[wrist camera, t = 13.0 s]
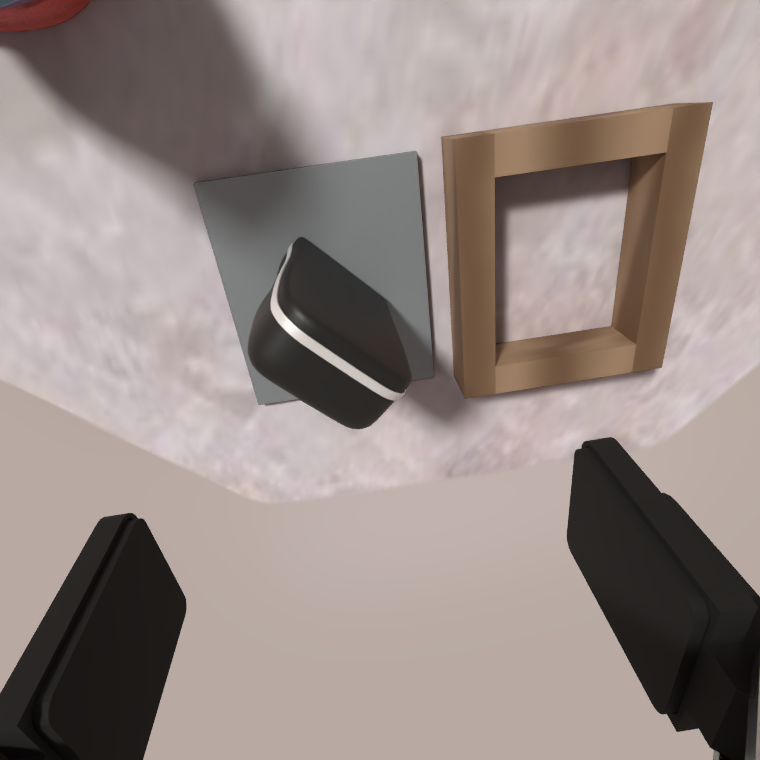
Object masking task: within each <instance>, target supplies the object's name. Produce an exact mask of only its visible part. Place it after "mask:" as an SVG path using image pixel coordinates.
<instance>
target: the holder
mask: <svg viewBox="0 0 760 760" xmlns="http://www.w3.org/2000/svg"><path fill="white" fill-rule="evenodd" d="M712 104H713V102H707V103H676V104H668V105H661V106H654V107H647V108H640V109H633V110H626V111H619V112H612V113H605V114H598V115H591V116H584V117H577V118H570V119H563V120H556V121H549V122H542V123H535V124H528V125H521V126H514V127H507V128H500V129H493V130H487V131H480V132H473V133H466V134H459V135H452V136H445V137H442V156H443V175H444V194H445V213H446V232H447V251H448V270H449V289H450V308H451V327H452V346H453V365H454V377H455V379H456V381H457V383H458V385H459V387H460V390H461V392H462V394H463V396H464V398H465V399H466V398H472V397H479V396H485V395H491V394H498V393H504V392H510V391H517V390H523V389H529V388H536V387H542V386H548V385H555V384H561V383H567V382H573V381H580V380H586V379H592V378H599V377H605V376H611V375H618V374H624V373H630V372H637V371H643V370H649V369H656V368H662V364H663V359H664V354H665V348H666V343H667V338H668V333H669V328H670V322H671V317H672V312H673V307H674V302H675V296H676V291H677V286H678V281H679V276H680V270H681V265H682V260H683V255H684V250H685V245H686V239H687V234H688V229H689V224H690V219H691V213H692V208H693V203H694V198H695V193H696V187H697V182H698V177H699V172H700V167H701V161H702V156H703V151H704V146H705V141H706V135H707V130H708V125H709V120H710V115H711V109H712ZM631 157H633V160H632V167H631V175H630V183H629V191H628V199H627V207H626V215H625V223H624V230H623V238H622V246H621V254H620V262H619V270H618V278H617V286H616V293H615V301H614V309H613V317H612V325H611V326H609V327H603V328H596V329H590V330H583V331H577V332H571V333H564V334H558V335H551V336H545V337H538V338H532V339H526V340H519V341H513V342H506V343H500V344H495V177H501V176H508V175H515V174H522V173H529V172H536V171H542V170H549V169H556V168H563V167H570V166H577V165H583V164H590V163H597V162H604V161H611V160H618V159H625V158H631Z"/></svg>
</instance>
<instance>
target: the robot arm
mask: <svg viewBox="0 0 760 760" xmlns="http://www.w3.org/2000/svg"><path fill="white" fill-rule="evenodd" d="M567 541H568V546H569V549H570V551H571V553H572V555H573V557H574V559H575V561H576V563H577V565H578V566H579V568H580V570H581V572H582V574H583V576H584V578H585V579H586V581H587V583H588V585H589V587H590V589H591V591H592V593H593V594H594V596H595V598H596V600H597V602H598V604H599V606H600V607H601V609H602V611H603V613H604V615H605V617H606V619H607V620H608V622H609V624H610V626H611V628H612V630H613V632H614V633H615V635H616V637H617V639H618V641H619V643H620V645H621V647H622V648H623V650H624V652H625V654H626V656H627V658H628V660H629V662H630V663H631V665H632V667H633V669H634V671H635V673H636V674H637V677H638V678H639V680H640V682H641V684H642V686H643V688H644V690H645V691H646V693H647V695H648V697H649V699H650V701H651V703H652V704H653V706H654V708H655V709H656V710H657V711H658V712H659V713H660V714H667V715H668V717H669V718H670V720H671V722H672V724H673V726H674V727H675V729H676V731H677V732H679V731H685V730H692V729H698V728H699V729H700V731H701V733H702V735H703V736H704V738H705V740H706V741H707V743H708V745H709V746H710V748H712V749H713V750H714V754H713V760H760V597H759V595H757V593H756V592H755V591H754V590H753V589H752V587H751V586H750V585H749V584H748V583H747V582H746V581H745V580H744V578H743V577H741V575H740V574H739V573H738V571H737V570H736V569H735V568H734V567H733V566H732V565H731V563H730V562H729V561H728V560H727V559H726V558H725V557H724V555H723V554H722V553H721V552H720V551H719V550H718V549H717V548H716V546H714V544H713V543H712V542H711V541H710V539H709V538H708V537H707V536H706V535H705V534H704V533H703V532H702V530H701V529H700V528H699V527H698V526H697V525H696V523H695V522H694V521H693V520H692V519H691V518H690V517H689V515H688V514H687V513H686V512H685V511H684V510H683V509H682V507H681V506H680V505H679V504H678V503H677V502H676V501H675V500H674V499H673V498H672V497H671V496H669V495H667V494H665V493H661V492H660V491H659V490H658V488H657V487H656V486H655V485H654V484H653V483H652V481H651V480H650V479H649V478H648V477H647V476H646V475H645V473H644V472H643V471H642V470H641V469H640V467H639V466H638V465H637V464H636V463H635V462H634V460H633V459H632V458H631V457H630V456H629V454H628V453H627V452H626V451H625V450H624V449H623V447H622V446H621V445H620V444H619V443H618V442H617V441H616V440H615V439H614V438H612V437H609V438H603V439H596V440H590V441H585V442H584V443H583V444H582V448H581V449H577V450H576V451H575V455H574V465H573V475H572V487H571V496H570V507H569V518H568V528H567ZM185 613H186V598H185V596H184V594H183V592H182V590H181V588H180V586H179V584H178V583H177V580H176V579H175V577H174V575H173V573H172V571H171V569H170V567H169V565H168V563H167V561H166V560H165V558H164V556H163V554H162V552H161V550H160V548H159V546H158V544H157V542H156V541H155V539H154V537H153V535H152V533H151V531H150V529H149V527H148V526H147V523H146V522H145V520H144V519H138V518H137V517H136V516H135V515H134V514H133V513H127V514H121V515H114V516H108V517H103V518H102V519H100V521H99V522H98V523H97V525H96V527H95V528H94V530H93V532H92V534H91V535H90V537H89V539H88V541H87V543H86V544H85V546H84V548H83V549H82V551H81V553H80V555H79V557H78V558H77V560H76V562H75V563H74V565H73V567H72V569H71V570H70V572H69V574H68V576H67V577H66V579H65V581H64V583H63V585H62V586H61V588H60V590H59V591H58V593H57V595H56V597H55V599H54V600H53V602H52V604H51V606H50V607H49V609H48V611H47V612H46V615H45V616H44V618H43V620H42V621H41V623H40V625H39V627H38V628H37V630H36V632H35V634H34V635H33V637H32V639H31V641H30V642H29V644H28V646H27V648H26V649H25V651H24V653H23V655H22V656H21V658H20V660H19V662H18V663H17V665H16V667H15V669H14V671H13V672H12V674H11V676H10V677H9V679H8V681H7V683H6V684H5V686H4V688H3V690H2V691H1V693H0V760H143V757H144V754H145V751H146V747H147V744H148V740H149V737H150V734H151V730H152V727H153V723H154V720H155V716H156V713H157V710H158V706H159V703H160V700H161V696H162V693H163V689H164V686H165V682H166V679H167V675H168V672H169V669H170V665H171V662H172V658H173V655H174V652H175V648H176V645H177V641H178V638H179V635H180V631H181V628H182V624H183V621H184V617H185Z"/></svg>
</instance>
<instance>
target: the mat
mask: <svg viewBox="0 0 760 760" xmlns="http://www.w3.org/2000/svg"><path fill="white" fill-rule="evenodd" d="M194 188H195V191H196V195H197V198H198V201H199V205H200V208H201V212H202V215H203V218H204V222H205V225H206V229H207V232H208V235H209V239H210V242H211V245H212V249H213V252H214V256H215V259H216V262H217V266H218V269H219V273H220V276H221V279H222V283H223V286H224V290H225V293H226V296H227V300H228V303H229V306H230V310H231V313H232V317H233V320H234V323H235V327H236V330H237V334H238V337H239V340H240V344H241V347H242V351H243V354H244V357H245V361H246V364H247V367H248V371H249V374H250V378H251V381H252V384H253V388H254V391H255V395H256V398H257V401H258V405H263V404H269V403H275V402H282V401H288V400H295V399H298V398H296V397H295V396H293V395H292V394H290V393H288V392H287V391H285V390H283V389H282V388H280V387H279V386H277V385H275V384H274V383H272V382H271V381H269V380H268V379H266V378H265V377H263V376H262V375H261V374H260V373H259V372H258V371H256V369H255V368H254V367H253V366H252V364H251V361H250V359H249V355H248V339H249V335H250V330H251V327H252V323H253V320H254V317H255V315H256V312H257V310H258V308H259V306H260V304H261V303H262V301H263V300H264V298H265V297H266V295H267V294H268V293H269V291H270V290H271V288H272V286H273V284H274V282H275V280H276V278H277V272H278V270H279V266H280V264H281V261H282V259H283V257H284V256H285V255H286V253H287V251H288V248H289V246H290V245H291V243H294V242H295V241H296V240H297V238H299V237H304V238H306V239H307V240H309V241H310V242H311V243H313V244H314V245H315V246H317V247H318V248H319V249H321V250H322V251H323V252H325V253H326V254H327V255H329V256H330V257H331V258H333V259H334V260H335V261H336V262H338V263H339V264H340V265H342V266H343V267H344V268H346V269H347V270H348V271H350V272H351V273H352V274H354V275H355V276H356V277H358V278H359V279H360V280H361V281H363V282H364V283H365V284H367V285H368V286H369V287H371V288H372V289H373V290H374V291H376V292H377V293H378V294H380V295H381V296H382V297H384V298H385V299H386V300H387V303H388V307H389V310H390V313H391V316H392V319H393V322H394V324H395V326H396V329H397V331H398V334H399V337H400V339H401V342H402V344H403V347H404V350H405V353H406V356H407V359H408V363H409V366H410V370H411V374H412V381H416V380H422V379H429V378H434V370H433V357H432V344H431V330H430V317H429V304H428V291H427V278H426V265H425V252H424V239H423V226H422V213H421V200H420V186H419V173H418V160H417V152H416V151H412V152H405V153H398V154H391V155H384V156H377V157H370V158H363V159H356V160H349V161H342V162H335V163H328V164H321V165H314V166H307V167H300V168H293V169H286V170H280V171H273V172H266V173H259V174H252V175H245V176H238V177H231V178H224V179H217V180H210V181H203V182H196V183H194Z"/></svg>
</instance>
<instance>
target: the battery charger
mask: <svg viewBox="0 0 760 760" xmlns="http://www.w3.org/2000/svg"><path fill="white" fill-rule="evenodd" d="M248 355H249V359H250V361H251V364H252V366H253V367H254V368H255V369H256V371H258V372H259V373H260V374H261V375H262V376H263V377H265V378H266V379H268V380H269V381H271V382H272V383H274V384H275V385H277V386H279V387H280V388H282V389H283V390H285V391H287V392H288V393H290V394H292V395H293V396H295V397H296V398H298V399H300V400H301V401H303V402H304V403H306V404H308V405H309V406H311V407H313V408H315V409H316V410H318V411H320V412H321V413H323V414H325V415H326V416H328V417H330V418H331V419H333V420H335V421H337V422H338V423H340V424H342V425H344V426H346V427H349V428H352V429H363V428H366V427H369V426H371V425H372V424H373V423H374V422H375V421H376V420H377V419H378V418H379V417H380V416H381V415H382V414H383V413H384V412H385V411H386V410H387V409H388V408H389V406H390V405H391V404H392V403H393V402H394V401H397V400H399V399H400V398H401V397H402V396H403V395H404V394H405V393H406V388H407V387H408V386H409V384H410V383H411V381H412V374H411V370H410V366H409V363H408V359H407V356H406V353H405V350H404V347H403V344H402V342H401V339H400V337H399V334H398V331H397V329H396V326H395V324H394V322H393V319H392V316H391V313H390V310H389V307H388V303H387V300H386V299H385V298H384V297H382V296H381V295H380V294H378V293H377V292H376V291H374V290H373V289H372V288H371V287H369V286H368V285H367V284H365V283H364V282H363V281H361V280H360V279H359V278H358V277H356V276H355V275H354V274H352V273H351V272H350V271H348V270H347V269H346V268H344V267H343V266H342V265H340V264H339V263H338V262H336V261H335V260H334V259H333V258H331V257H330V256H329V255H327V254H326V253H325V252H323V251H322V250H321V249H319V248H318V247H317V246H315V245H314V244H313V243H311V242H310V241H309V240H307V239H306V238H304V237H299V238H297V240H296V241H295V242H294V243H291V245H290V246H289V248H288V251H287V253H286V255H285V256H284V257H283V259H282V261H281V264H280V266H279V270H278V272H277V278H276V280H275V282H274V284H273V286H272V288H271V290H270V291H269V293H268V294H267V295H266V297H265V298H264V300H263V301H262V303H261V304H260V306H259V308H258V310H257V312H256V315H255V317H254V320H253V323H252V327H251V330H250V335H249V339H248Z"/></svg>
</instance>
